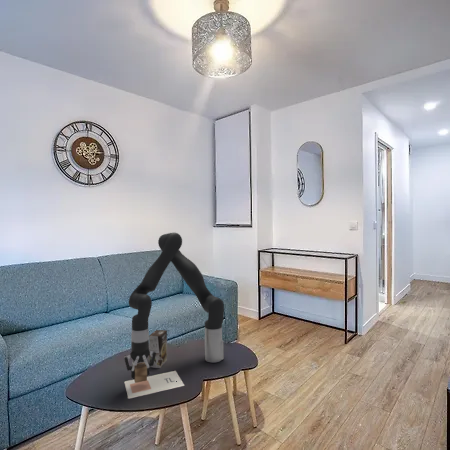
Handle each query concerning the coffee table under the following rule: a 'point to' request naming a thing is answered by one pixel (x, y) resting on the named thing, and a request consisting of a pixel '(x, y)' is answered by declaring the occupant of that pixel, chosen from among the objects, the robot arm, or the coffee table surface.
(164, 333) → the coffee box
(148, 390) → the mat
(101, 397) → the coffee table surface
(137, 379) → the walnut block
